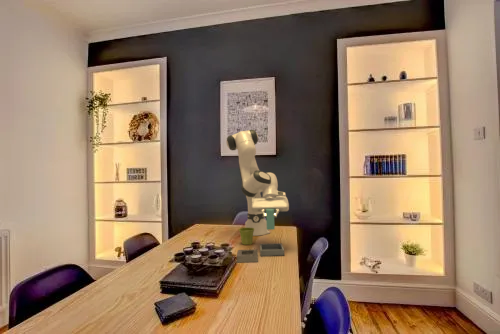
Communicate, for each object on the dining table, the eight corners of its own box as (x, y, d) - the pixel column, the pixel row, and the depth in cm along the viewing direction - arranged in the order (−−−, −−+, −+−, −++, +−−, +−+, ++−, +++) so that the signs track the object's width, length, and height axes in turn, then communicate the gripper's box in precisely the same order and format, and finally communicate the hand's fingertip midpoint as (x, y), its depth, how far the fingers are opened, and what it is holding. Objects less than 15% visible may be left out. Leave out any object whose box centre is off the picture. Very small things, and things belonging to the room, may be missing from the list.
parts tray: (260, 249, 141) (259, 243, 141) (281, 248, 141) (281, 243, 141) (260, 256, 129) (260, 250, 129) (284, 255, 129) (284, 249, 129)
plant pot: (248, 246, 147) (248, 231, 147) (235, 244, 153) (235, 229, 153) (257, 243, 154) (257, 228, 154) (245, 240, 160) (245, 226, 160)
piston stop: (267, 227, 138) (266, 209, 138) (274, 227, 137) (273, 209, 137) (266, 229, 134) (266, 210, 134) (274, 229, 133) (273, 210, 133)
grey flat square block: (238, 255, 131) (237, 249, 132) (257, 255, 131) (257, 249, 131) (236, 262, 121) (236, 256, 122) (257, 262, 121) (257, 255, 121)
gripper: (251, 193, 144) (250, 213, 134) (288, 192, 142) (289, 213, 132) (252, 200, 148) (251, 220, 138) (288, 199, 146) (289, 220, 136)
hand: (270, 217), depth 135 cm, fingers closed on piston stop, 4 cm apart
